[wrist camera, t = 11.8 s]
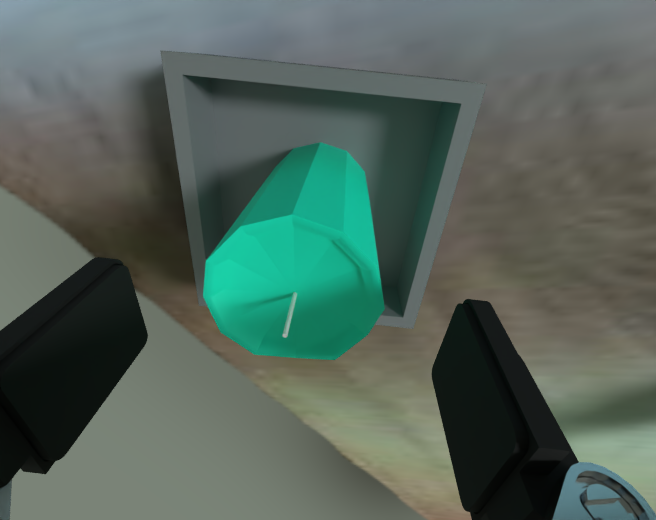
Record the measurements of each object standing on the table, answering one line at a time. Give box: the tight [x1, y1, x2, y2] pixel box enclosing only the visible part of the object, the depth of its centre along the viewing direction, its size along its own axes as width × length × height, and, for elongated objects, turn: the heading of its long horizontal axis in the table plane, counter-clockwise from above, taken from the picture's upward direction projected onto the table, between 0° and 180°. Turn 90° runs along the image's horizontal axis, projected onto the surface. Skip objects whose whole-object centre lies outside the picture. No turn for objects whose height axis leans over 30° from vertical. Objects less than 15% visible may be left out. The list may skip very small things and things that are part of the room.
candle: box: [203, 142, 385, 360], centre depth 14 cm, size 6×6×12 cm
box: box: [161, 51, 487, 329], centre depth 19 cm, size 14×14×4 cm
